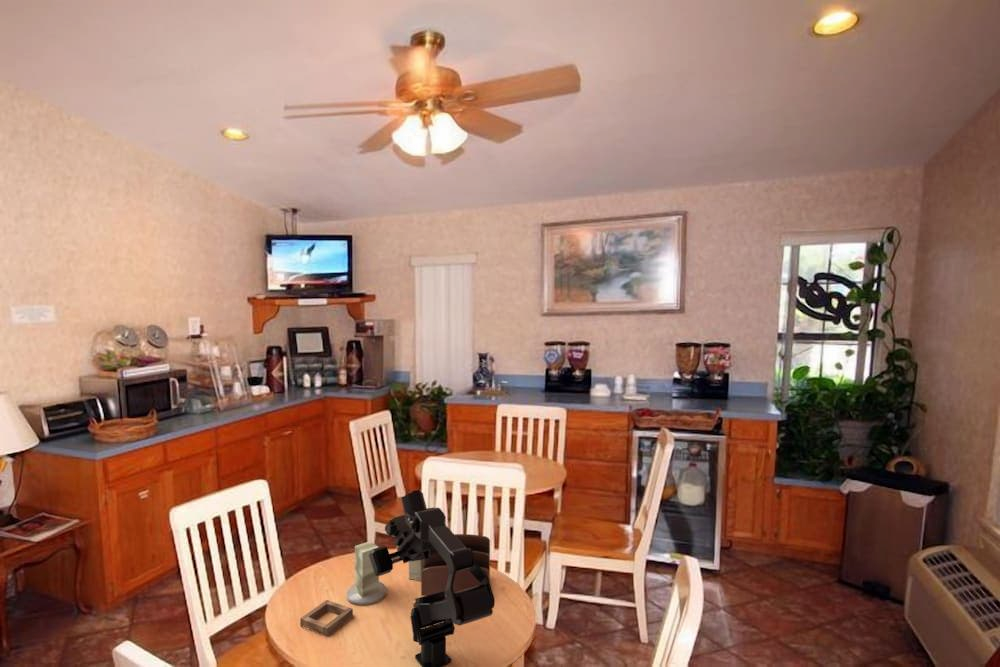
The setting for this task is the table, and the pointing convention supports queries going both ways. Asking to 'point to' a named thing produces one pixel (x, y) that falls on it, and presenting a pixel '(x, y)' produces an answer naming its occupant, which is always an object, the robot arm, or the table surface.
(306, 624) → the pocket block
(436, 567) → the letter holder
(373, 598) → the coaster
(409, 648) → the table surface
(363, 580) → the tall khaki square post
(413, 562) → the skincare box
